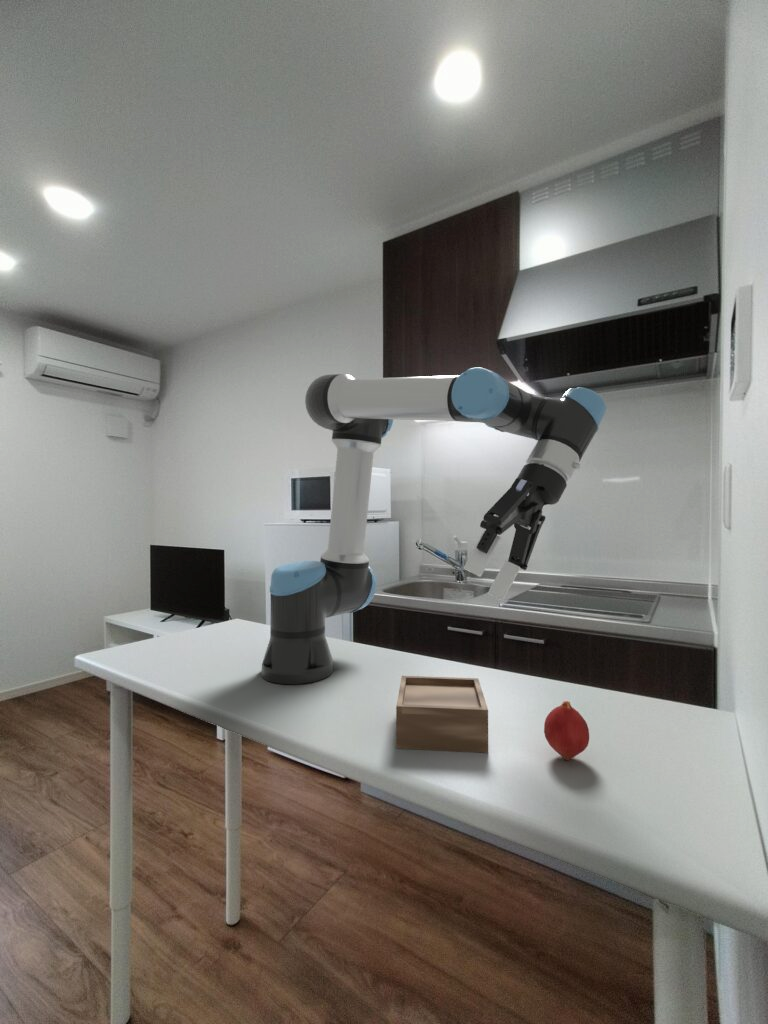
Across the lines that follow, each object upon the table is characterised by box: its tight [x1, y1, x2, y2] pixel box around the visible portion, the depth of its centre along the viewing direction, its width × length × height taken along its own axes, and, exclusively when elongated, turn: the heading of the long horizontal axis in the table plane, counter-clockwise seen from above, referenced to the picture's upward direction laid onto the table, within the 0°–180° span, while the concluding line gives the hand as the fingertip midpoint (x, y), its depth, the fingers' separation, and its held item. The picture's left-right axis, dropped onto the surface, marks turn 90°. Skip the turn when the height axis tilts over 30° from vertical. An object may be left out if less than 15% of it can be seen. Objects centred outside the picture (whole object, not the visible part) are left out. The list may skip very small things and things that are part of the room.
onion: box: [543, 700, 590, 761], centre depth 63 cm, size 6×6×8 cm
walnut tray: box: [395, 675, 489, 754], centre depth 71 cm, size 13×13×6 cm
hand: (484, 586), depth 72 cm, fingers open, 13 cm apart
